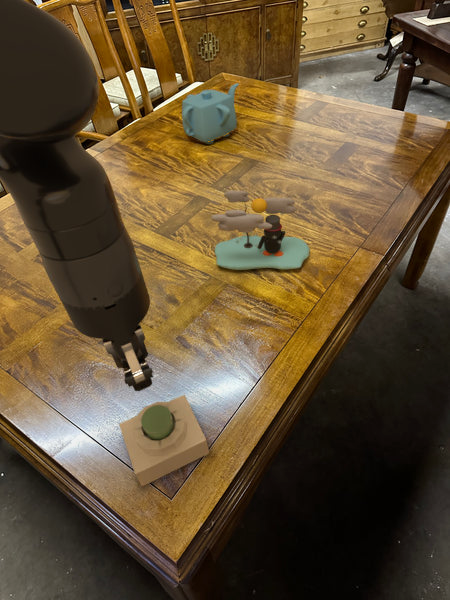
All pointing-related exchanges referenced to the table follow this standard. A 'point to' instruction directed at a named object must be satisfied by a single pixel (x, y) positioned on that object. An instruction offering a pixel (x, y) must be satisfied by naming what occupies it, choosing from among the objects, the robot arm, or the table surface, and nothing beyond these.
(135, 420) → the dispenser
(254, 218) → the penguin figurine
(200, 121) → the teapot
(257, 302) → the table surface
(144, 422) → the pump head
